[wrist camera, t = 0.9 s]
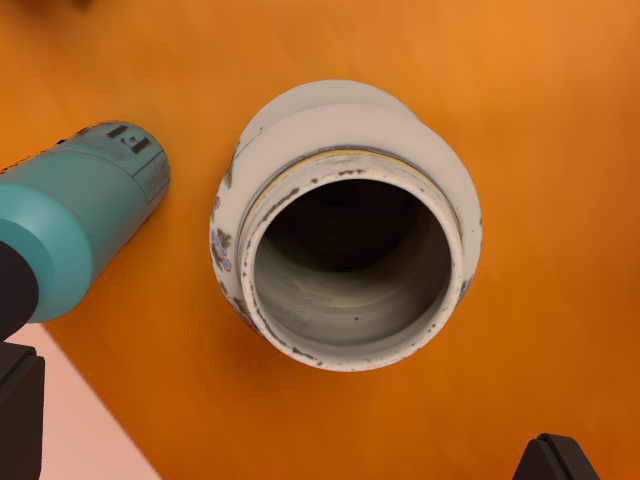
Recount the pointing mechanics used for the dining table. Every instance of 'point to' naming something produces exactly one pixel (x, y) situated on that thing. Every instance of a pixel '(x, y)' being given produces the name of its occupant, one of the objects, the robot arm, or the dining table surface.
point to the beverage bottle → (72, 217)
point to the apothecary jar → (344, 227)
